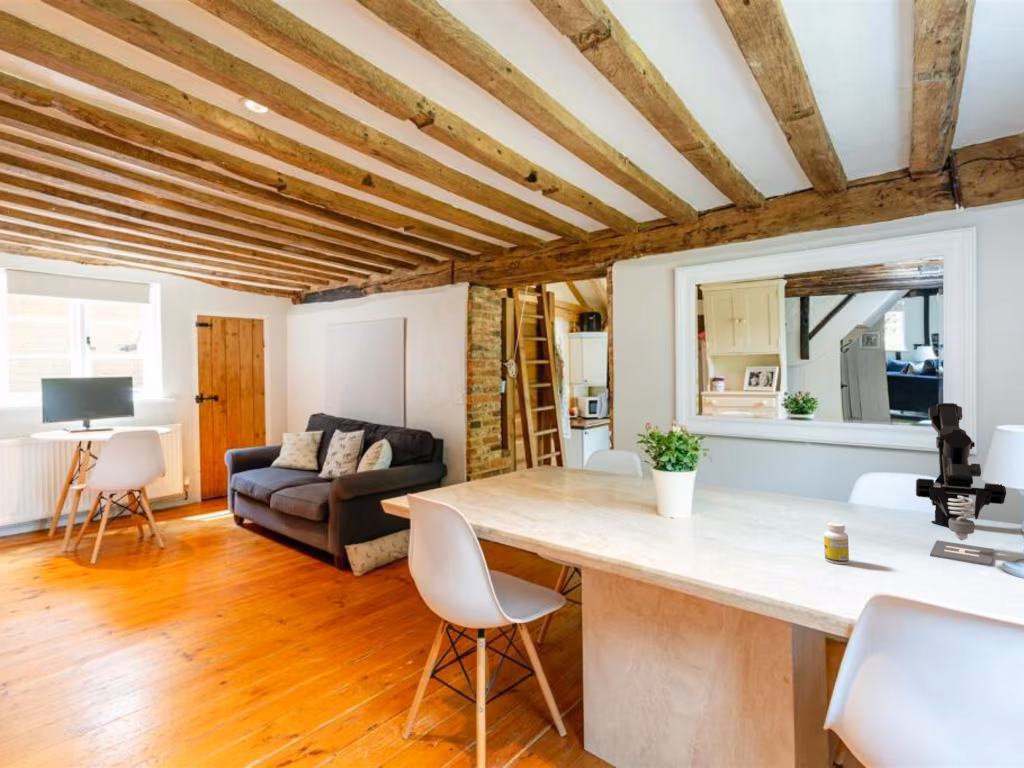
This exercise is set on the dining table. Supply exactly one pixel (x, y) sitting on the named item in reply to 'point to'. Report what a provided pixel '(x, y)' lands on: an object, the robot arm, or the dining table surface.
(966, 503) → the light bulb
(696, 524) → the dining table surface
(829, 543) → the supplement bottle
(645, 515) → the dining table surface
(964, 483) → the robot arm
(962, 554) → the board
